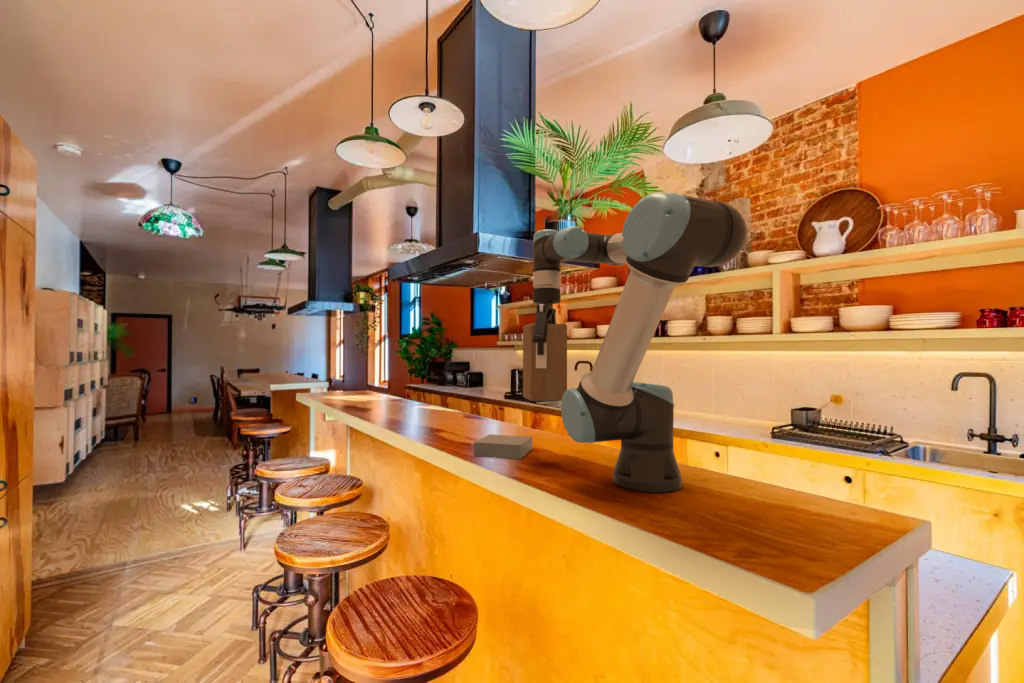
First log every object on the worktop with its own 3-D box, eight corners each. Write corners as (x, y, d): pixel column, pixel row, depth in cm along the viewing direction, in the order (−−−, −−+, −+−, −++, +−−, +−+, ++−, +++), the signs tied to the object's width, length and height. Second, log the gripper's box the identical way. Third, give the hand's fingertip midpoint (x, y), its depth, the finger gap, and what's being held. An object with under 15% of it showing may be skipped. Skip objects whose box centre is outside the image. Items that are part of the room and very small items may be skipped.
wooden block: (522, 397, 130) (522, 325, 130) (557, 397, 131) (557, 326, 132) (529, 401, 120) (530, 323, 120) (567, 400, 121) (567, 323, 122)
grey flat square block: (520, 459, 131) (520, 445, 131) (473, 456, 135) (474, 442, 135) (532, 449, 145) (532, 436, 145) (489, 447, 148) (489, 434, 149)
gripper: (542, 294, 139) (542, 366, 139) (521, 282, 116) (521, 368, 115) (567, 293, 137) (567, 366, 137) (551, 280, 114) (551, 368, 113)
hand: (546, 367), depth 126 cm, fingers closed on wooden block, 12 cm apart
